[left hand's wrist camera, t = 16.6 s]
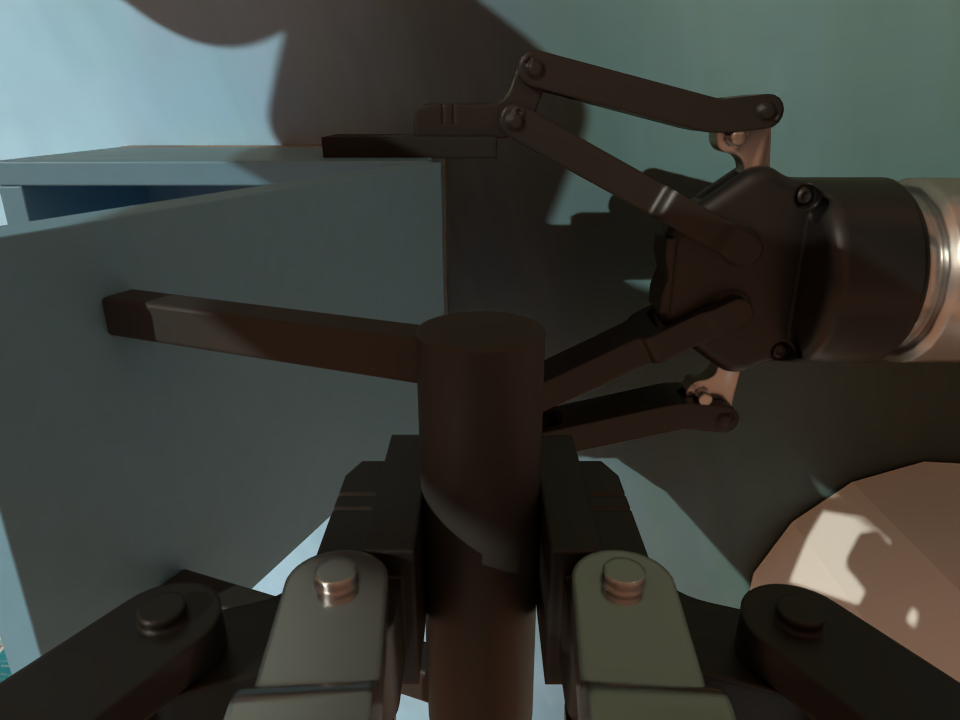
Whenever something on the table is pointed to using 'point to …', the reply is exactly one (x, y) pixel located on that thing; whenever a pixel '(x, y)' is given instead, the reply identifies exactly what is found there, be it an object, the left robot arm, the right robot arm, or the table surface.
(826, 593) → the container
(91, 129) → the table surface
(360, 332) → the lid
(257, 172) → the chest
